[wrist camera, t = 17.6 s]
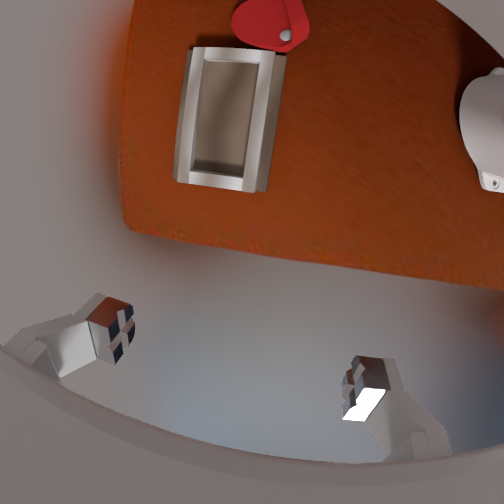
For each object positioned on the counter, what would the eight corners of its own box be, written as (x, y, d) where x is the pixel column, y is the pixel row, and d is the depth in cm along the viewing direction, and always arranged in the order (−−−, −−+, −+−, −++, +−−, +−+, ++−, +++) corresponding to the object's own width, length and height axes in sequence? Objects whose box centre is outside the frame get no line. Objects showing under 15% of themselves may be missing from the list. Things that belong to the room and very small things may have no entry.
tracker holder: (219, 26, 28) (272, 72, 28) (209, 9, 23) (268, 56, 24) (290, -20, 25) (346, 22, 25) (288, -39, 20) (351, 3, 21)
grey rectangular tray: (286, 58, 29) (286, 53, 26) (266, 190, 36) (264, 194, 33) (191, 52, 30) (184, 47, 27) (176, 177, 37) (167, 180, 34)
